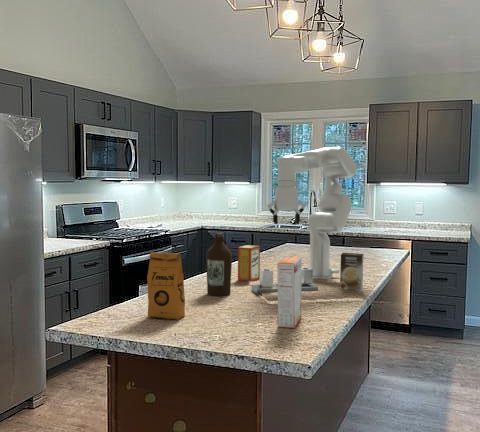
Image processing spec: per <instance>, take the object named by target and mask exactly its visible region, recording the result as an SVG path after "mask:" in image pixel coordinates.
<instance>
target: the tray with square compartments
mask: <svg viewBox="0 0 480 432" xmlns="http://www.w3.org/2000/svg"><path fill="white" fill-rule="evenodd" d="M251 291H252V292H253V293H254V294H255V295H256V296H263V295H262V293H278V283H273V288H260V283H259V284H251ZM305 291H306V292H309V291H319V287H318V286H316V285H314V284H312V283H301V292H305Z"/></svg>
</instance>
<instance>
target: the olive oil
mask: <svg viewBox="0 0 480 432" xmlns="http://www.w3.org/2000/svg"><path fill="white" fill-rule="evenodd" d="M205 260H206V261H205V262H206V265H205V266H206V285H207V287H206V289H207V295H208V296H211V297H212V296H213V297H225V296H226V297H227V296H230V295H231V285H232V283H231V282H232V267H233V266H232V264H233V263H232V262H233V255H232V251H231V250H230V248H229V247H228V246H227V245H226V244H225V243H224V233H223V232H215V234H214V243H213V244H212V245H211V246H210V247H209V248H208V250H207V252H206V255H205Z"/></svg>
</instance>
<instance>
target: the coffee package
mask: <svg viewBox="0 0 480 432" xmlns="http://www.w3.org/2000/svg"><path fill="white" fill-rule="evenodd" d="M146 279H147V300H148V306H147V317H150V318H151V317H152V318H157V319H166V320H176V321H178V320H180V319H182V318H183V317H185V315H186V313H185V312H186V296H185V283H184V282H185V280H184V279H185V278H184V272H183V265H182V258H181V254H180V252H179V253H178V252H177V253H174V252H173V253H172V252H171V253H170V252H169V253H167V252H152V251H151V252H150V253H149V262H148V270H147V276H146Z"/></svg>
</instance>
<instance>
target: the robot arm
mask: <svg viewBox="0 0 480 432" xmlns="http://www.w3.org/2000/svg"><path fill="white" fill-rule="evenodd" d="M318 168H322V173H323V176H324V181H325V187H324V189H323V193H322V195H321V197H320V200H319V202H318V206H317V207H318V210H319V211H317V212H316V211H315V212H312V213H311V214H310V215H309V216H308V219H307V220H308V222H307V223H308V230H309V239H310V240H309V268H310V269H313V280H326V279H327V280H328V279H329V280H330V278H331V279H333V277H334V276H333V274H340V269H339V268H336V269H333V268H332V267H330V262H331V261H330V259H331V255H330V254H331V240H330V237H329V236H328V233H329V234H338V233H339V234H340V233H341V232H343V230H344V228H345V226H346V223H347V220H348V218H349V216H350V213H351V209H352V200H351V197H349V195H346V194H342V192H343V187H342V185H341V183H340V181H339V180H338V179H350V178H353V177H355V175H356V174H357V164H356V163H355V161H354V159H353V158H352V156H351V155H350V154H349V152H348V151H347V150H346V149H344V148H343V147H341V146H331V147H328V146H327V147H320V148H318V149H314V150H308V151H304V152H303V151H302V152H299V153H294V154H288V155H284V156H279V157H278V158H277V187H275V191H274V201H272V202H270V203H268V204H266V207H267V209H268V211H269V212H270V213H271V214H272V215H273V216H272V222H273V224H274V225H278V223H279V222H278V221H279V220H278V219H279V218H278V217H279V215H278V213H279V212H280V211H286V212H287V211H294V212H295V214H294V216H295V217H294V218H295V219H294V221H295V222H294V223H295V224H300V221H301V214H302V213H303V212H304V210H305V207H306V206H307V205H306V203H304V202H302V201H300V200H299V194H298V193H299V192H298V189H297V187H296V186H298V185H299V181H296V174H303V173H306V172H308V171H309V170H314V169H318ZM299 205H300V208H299ZM273 206H274V207H273ZM272 207H273V208H274V209H273V208H272Z"/></svg>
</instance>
